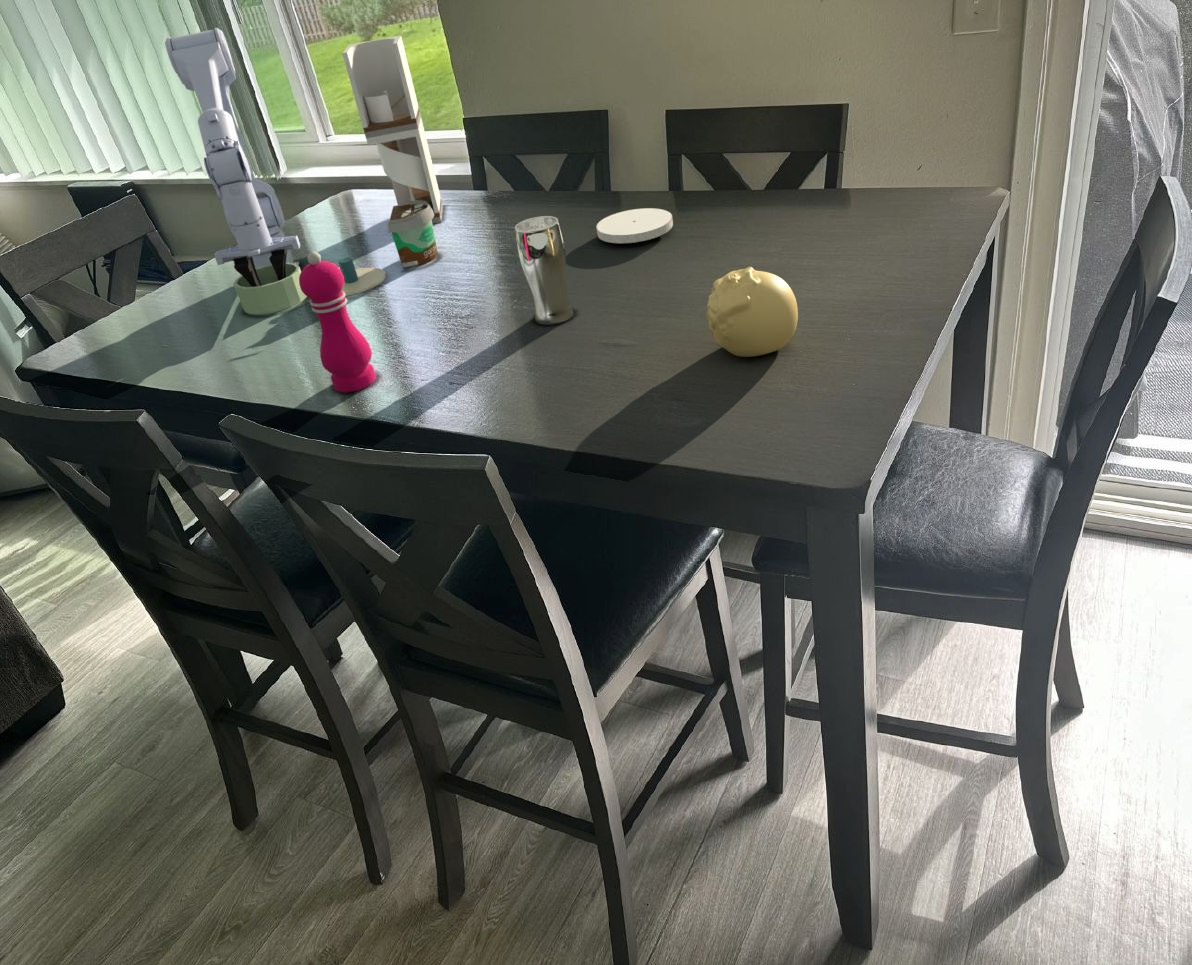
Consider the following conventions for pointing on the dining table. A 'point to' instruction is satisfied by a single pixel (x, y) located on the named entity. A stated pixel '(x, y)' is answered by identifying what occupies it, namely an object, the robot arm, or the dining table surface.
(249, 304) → the tub
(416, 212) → the food container
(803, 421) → the dining table surface
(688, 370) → the dining table surface
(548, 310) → the beer glass
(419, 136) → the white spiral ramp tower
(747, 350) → the sculpture
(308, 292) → the pepper mill
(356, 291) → the tub lid
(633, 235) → the plastic lid
